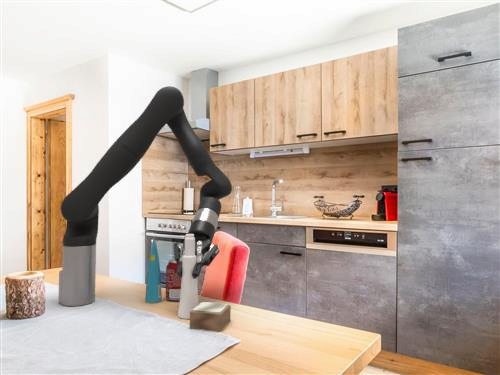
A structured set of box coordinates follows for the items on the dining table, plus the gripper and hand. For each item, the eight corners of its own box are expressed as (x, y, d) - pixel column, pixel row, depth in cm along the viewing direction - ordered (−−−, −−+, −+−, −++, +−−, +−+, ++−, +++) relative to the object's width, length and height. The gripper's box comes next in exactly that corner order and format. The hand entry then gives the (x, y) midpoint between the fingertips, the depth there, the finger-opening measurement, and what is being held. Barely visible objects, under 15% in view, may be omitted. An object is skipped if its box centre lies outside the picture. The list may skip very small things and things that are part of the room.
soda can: (182, 302, 112) (183, 263, 112) (162, 301, 113) (162, 262, 113) (190, 296, 118) (191, 259, 118) (171, 295, 119) (171, 258, 120)
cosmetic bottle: (173, 318, 97) (175, 234, 98) (183, 311, 103) (184, 232, 104) (195, 320, 96) (196, 235, 96) (203, 313, 102) (204, 233, 102)
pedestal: (189, 328, 90) (189, 310, 90) (201, 318, 98) (201, 301, 98) (220, 331, 88) (221, 313, 88) (230, 320, 96) (230, 303, 96)
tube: (143, 298, 116) (145, 237, 116) (159, 297, 117) (160, 236, 118) (147, 305, 109) (148, 240, 109) (163, 303, 111) (164, 239, 111)
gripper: (177, 218, 109) (157, 266, 97) (223, 219, 106) (208, 269, 94) (184, 234, 114) (166, 282, 102) (228, 235, 111) (215, 285, 99)
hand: (186, 276), depth 98 cm, fingers closed on cosmetic bottle, 3 cm apart
